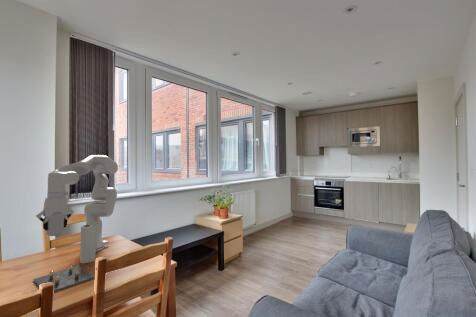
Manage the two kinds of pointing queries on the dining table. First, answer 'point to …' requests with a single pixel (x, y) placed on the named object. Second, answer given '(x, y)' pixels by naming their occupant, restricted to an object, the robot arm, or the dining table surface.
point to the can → (55, 224)
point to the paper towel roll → (88, 244)
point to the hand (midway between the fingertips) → (55, 228)
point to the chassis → (65, 278)
